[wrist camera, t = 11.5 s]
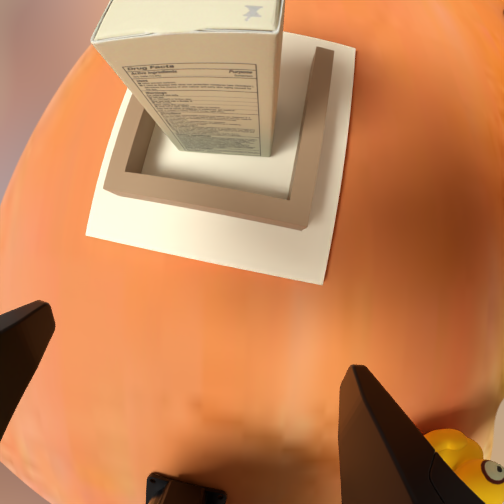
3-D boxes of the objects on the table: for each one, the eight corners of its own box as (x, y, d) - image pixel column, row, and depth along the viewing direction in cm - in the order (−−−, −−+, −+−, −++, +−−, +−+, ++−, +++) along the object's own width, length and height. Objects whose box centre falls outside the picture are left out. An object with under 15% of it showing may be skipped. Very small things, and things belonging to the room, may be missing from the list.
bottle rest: (320, 284, 20) (332, 289, 17) (89, 235, 20) (66, 232, 17) (353, 52, 20) (364, 29, 17) (158, 26, 20) (149, 3, 17)
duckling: (483, 416, 19) (549, 462, 9) (460, 463, 19) (513, 516, 9) (383, 420, 20) (444, 498, 10) (361, 473, 19) (401, 556, 10)
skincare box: (277, 101, 19) (297, -41, 7) (271, 160, 19) (292, 36, 7) (183, 95, 19) (126, -36, 7) (172, 152, 19) (84, 41, 7)
